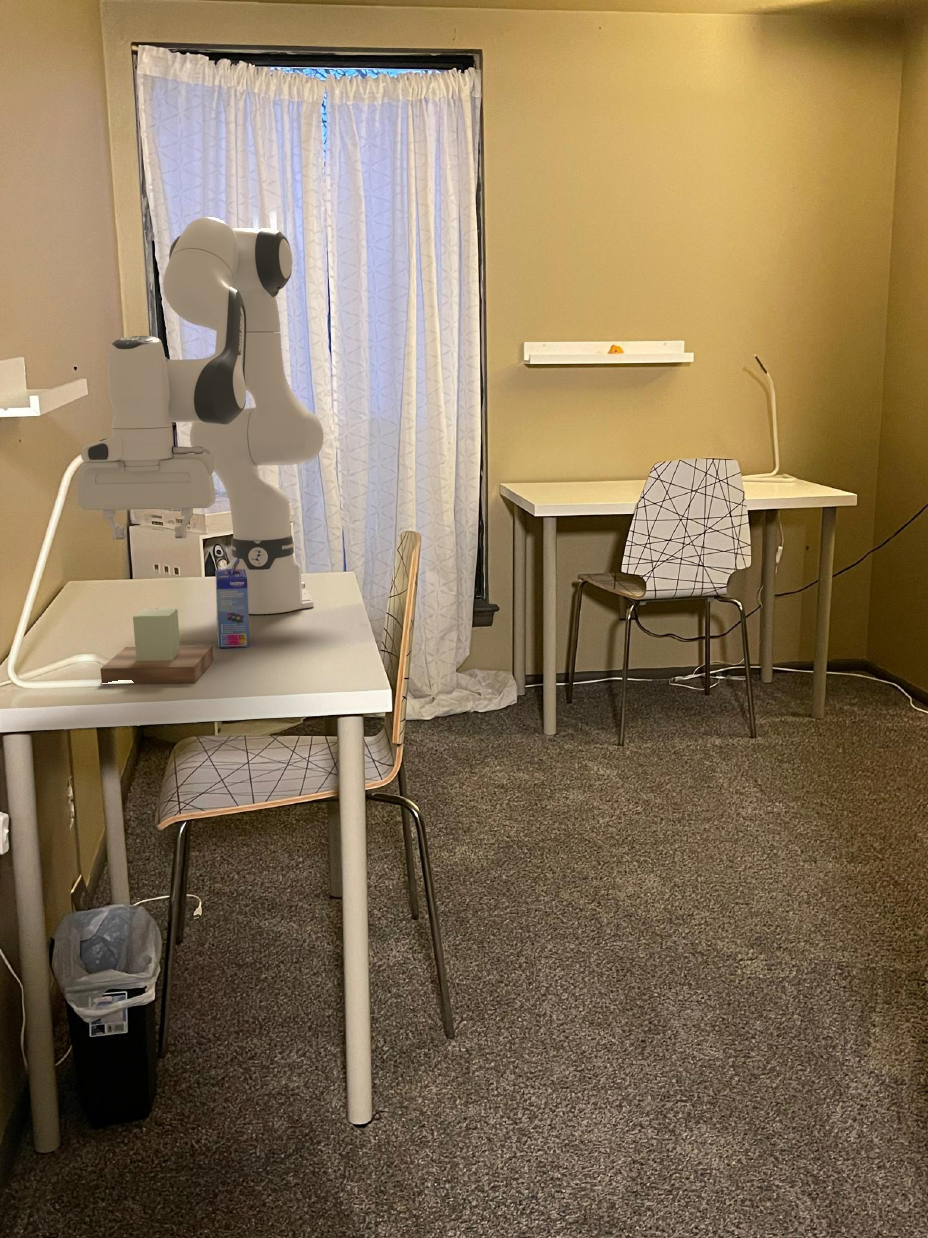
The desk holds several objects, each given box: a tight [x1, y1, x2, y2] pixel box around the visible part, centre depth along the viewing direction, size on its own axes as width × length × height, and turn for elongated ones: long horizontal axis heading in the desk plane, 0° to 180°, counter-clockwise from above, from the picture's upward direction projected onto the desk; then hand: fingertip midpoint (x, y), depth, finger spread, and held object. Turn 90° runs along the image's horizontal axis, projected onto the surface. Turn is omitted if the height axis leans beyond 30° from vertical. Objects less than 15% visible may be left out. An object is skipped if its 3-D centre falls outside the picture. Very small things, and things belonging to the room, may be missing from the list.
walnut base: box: [99, 644, 214, 685], centre depth 181 cm, size 14×14×2 cm
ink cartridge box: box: [214, 557, 250, 649], centre depth 199 cm, size 10×6×14 cm, turn 13°
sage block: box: [132, 608, 181, 661], centre depth 180 cm, size 6×6×7 cm
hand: (150, 538), depth 177 cm, fingers open, 8 cm apart
